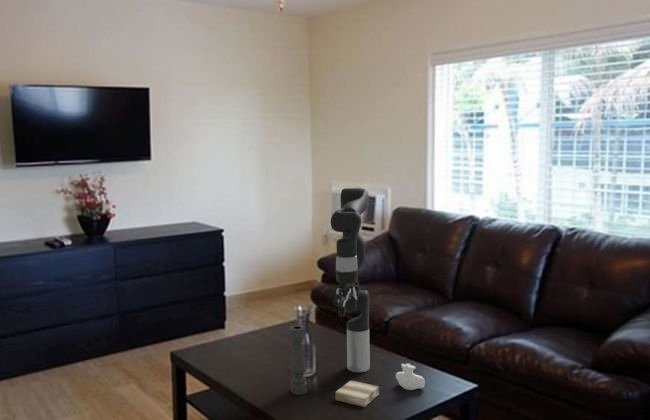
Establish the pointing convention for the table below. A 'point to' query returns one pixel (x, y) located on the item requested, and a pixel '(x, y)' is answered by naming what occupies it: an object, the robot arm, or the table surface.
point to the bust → (409, 378)
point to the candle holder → (298, 360)
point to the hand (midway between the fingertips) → (347, 313)
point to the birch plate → (357, 393)
